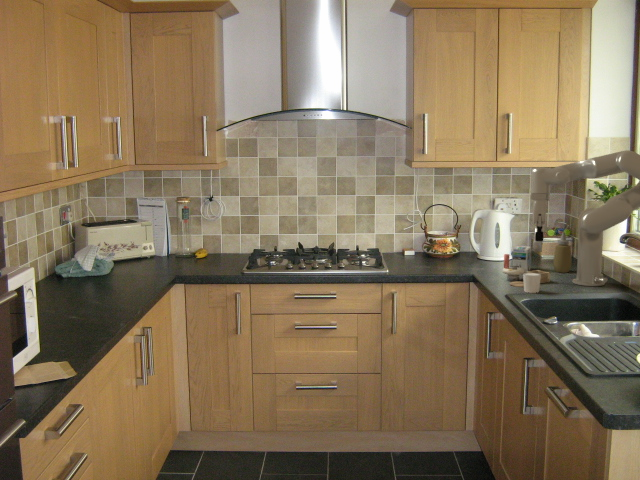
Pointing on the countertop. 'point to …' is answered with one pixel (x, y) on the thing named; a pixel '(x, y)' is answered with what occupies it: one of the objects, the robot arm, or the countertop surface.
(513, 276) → the wheel post
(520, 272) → the crank wheel
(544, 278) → the block
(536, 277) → the white cup
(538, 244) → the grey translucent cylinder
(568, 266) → the squeeze bottle
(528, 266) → the light bulb box
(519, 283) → the coaster
